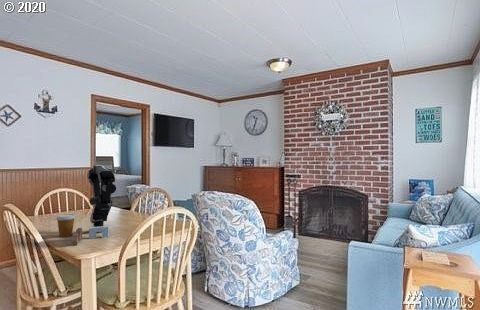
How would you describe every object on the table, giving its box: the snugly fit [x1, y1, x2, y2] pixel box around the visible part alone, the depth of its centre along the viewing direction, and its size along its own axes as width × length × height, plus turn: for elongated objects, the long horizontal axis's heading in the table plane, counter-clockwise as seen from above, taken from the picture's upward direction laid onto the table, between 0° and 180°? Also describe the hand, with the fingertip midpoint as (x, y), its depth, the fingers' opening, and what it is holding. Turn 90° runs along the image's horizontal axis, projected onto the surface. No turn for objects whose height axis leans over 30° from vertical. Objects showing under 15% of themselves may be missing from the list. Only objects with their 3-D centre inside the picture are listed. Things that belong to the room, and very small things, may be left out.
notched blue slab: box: [88, 225, 110, 239], centre depth 167 cm, size 2×10×6 cm, turn 109°
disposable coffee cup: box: [55, 213, 76, 238], centre depth 170 cm, size 10×10×12 cm
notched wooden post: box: [72, 227, 83, 247], centre depth 158 cm, size 14×2×6 cm, turn 19°
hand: (105, 218), depth 168 cm, fingers open, 9 cm apart
